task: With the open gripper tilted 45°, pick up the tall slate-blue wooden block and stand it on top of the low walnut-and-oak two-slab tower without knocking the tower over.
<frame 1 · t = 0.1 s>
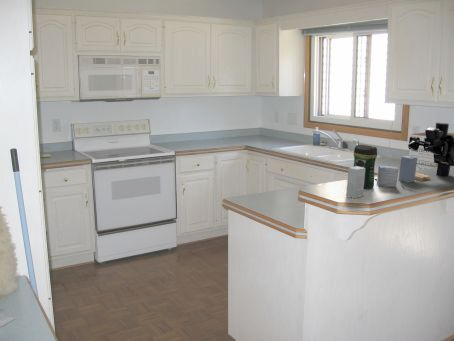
hand: (417, 147, 227), 17 cm above the counter, tool horizontal, fingers open, 9 cm apart
top slab: (418, 178, 235), point 1 cm above the counter, touching bottom slab
slate block: (406, 182, 229), on the counter
skincare box: (354, 196, 200), on the counter
bottom slab: (418, 181, 235), on the counter, touching top slab
coffee jar: (361, 187, 217), on the counter
medicine box: (386, 186, 221), on the counter
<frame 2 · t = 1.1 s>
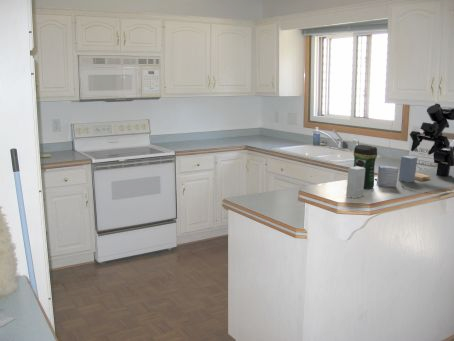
hand: (419, 152, 231), 14 cm above the counter, tool tilted 45°, fingers open, 9 cm apart
nothing on the counter moved.
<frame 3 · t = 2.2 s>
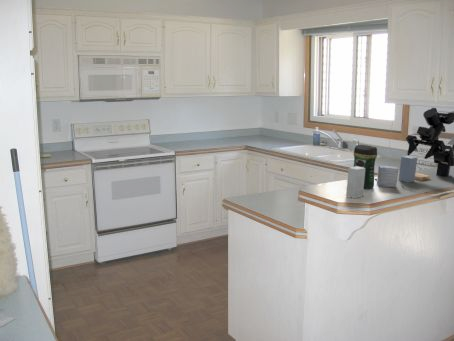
hand: (416, 156, 230), 12 cm above the counter, tool tilted 45°, fingers open, 9 cm apart
nothing on the counter moved.
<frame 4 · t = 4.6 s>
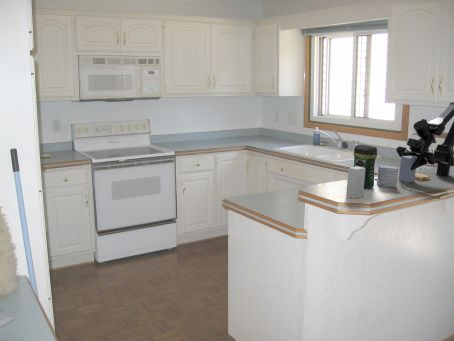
hand: (406, 168, 227), 7 cm above the counter, tool tilted 45°, fingers closed on slate block, 5 cm apart
slate block: (406, 182, 229), on the counter, touching gripper
everything else where it was.
when the fingers open (10 cm above the counter, at t = 11.8 s): slate block drops 2 cm, resting on top slab.
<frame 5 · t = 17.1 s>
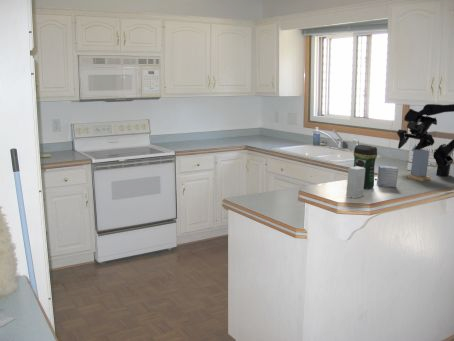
hand: (406, 149, 243), 13 cm above the counter, tool tilted 45°, fingers open, 9 cm apart
top slab: (419, 178, 235), point 1 cm above the counter, touching slate block
slate block: (418, 175, 235), point 2 cm above the counter, touching top slab
bottom slab: (418, 181, 235), on the counter
everything else where it was.
at the end: slate block 0.6 cm off-centre on the top slab, point 1.8 cm above the top slab's base; slate block tilted 4°; top slab moved 0.9 cm from its start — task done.
